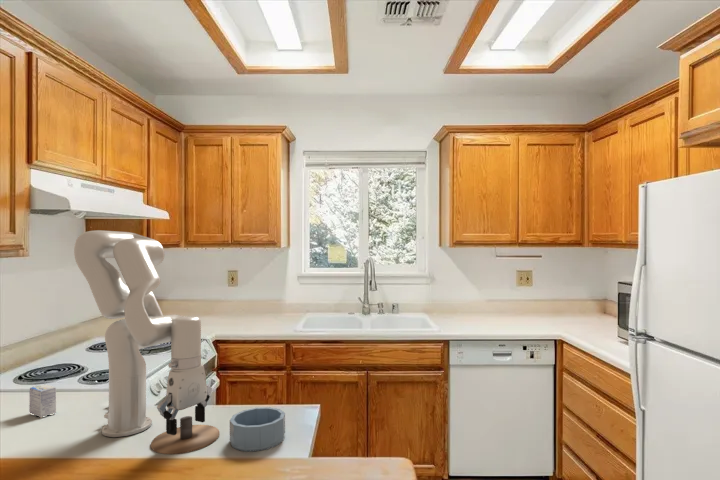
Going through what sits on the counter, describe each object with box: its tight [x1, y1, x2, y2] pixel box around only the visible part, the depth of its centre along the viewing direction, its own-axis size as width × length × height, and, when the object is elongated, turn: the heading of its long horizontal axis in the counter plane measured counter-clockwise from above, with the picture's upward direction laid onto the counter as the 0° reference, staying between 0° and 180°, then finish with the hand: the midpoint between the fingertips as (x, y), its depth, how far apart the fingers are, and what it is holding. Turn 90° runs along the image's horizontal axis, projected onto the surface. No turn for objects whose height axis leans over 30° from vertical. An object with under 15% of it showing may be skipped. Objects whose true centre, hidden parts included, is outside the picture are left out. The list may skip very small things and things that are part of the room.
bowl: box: [229, 406, 286, 452], centre depth 111 cm, size 14×14×6 cm
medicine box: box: [28, 384, 57, 418], centre depth 134 cm, size 8×4×9 cm, turn 59°
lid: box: [150, 415, 220, 455], centre depth 112 cm, size 17×17×6 cm
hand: (186, 427), depth 112 cm, fingers open, 8 cm apart
